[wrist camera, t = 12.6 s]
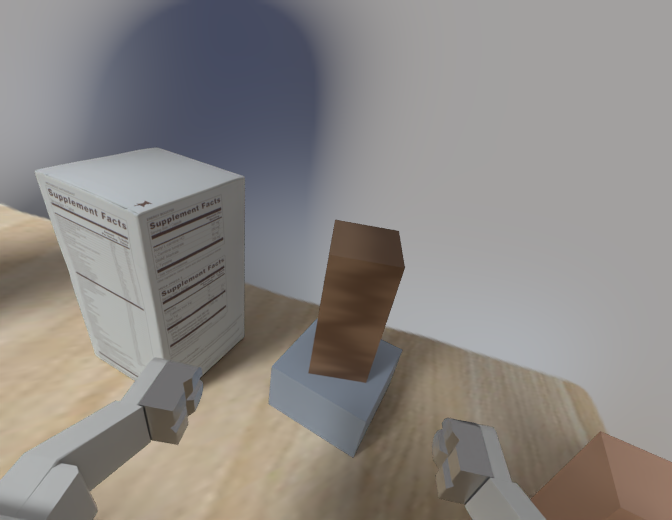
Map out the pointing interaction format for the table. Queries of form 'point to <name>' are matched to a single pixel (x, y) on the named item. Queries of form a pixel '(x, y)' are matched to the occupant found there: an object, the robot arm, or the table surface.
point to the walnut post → (356, 299)
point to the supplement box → (152, 255)
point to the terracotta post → (609, 485)
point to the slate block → (330, 393)
